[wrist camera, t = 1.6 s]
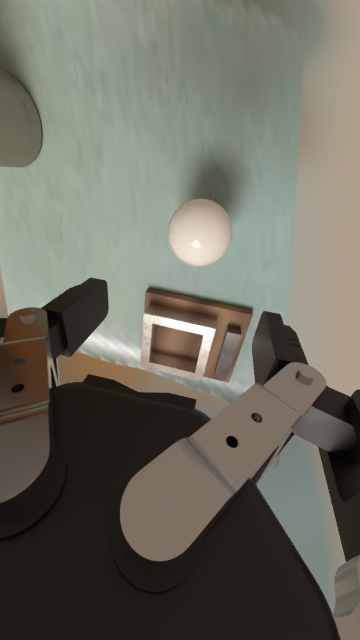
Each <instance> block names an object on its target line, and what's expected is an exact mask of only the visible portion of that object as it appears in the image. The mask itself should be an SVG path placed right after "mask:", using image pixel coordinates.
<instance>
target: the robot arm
mask: <svg viewBox="0 0 360 640" xmlns="http://www.w3.org/2000/svg"><path fill="white" fill-rule="evenodd" d="M41 141H42V130H41V123H40V119H39V115H38V112H37V110H36V107H35V105H34V103H33V101H32V99H31V97H30V95H29V94H28V92H27V91H26V90H25V88H24V87H23V86H22V85H21V84H20V83H19V82H18V81H17V80H16V79H15V78H14V77H13V76H11V75H10V74H8V73H7V72H5V71H3V70H0V166H2V167H24V166H27V165H29V164H31V163H32V162H33V161H34V160H35V159H36V157H37V156H38V154H39V151H40V148H41ZM107 313H108V289H107V282H106V281H105V280H101V279H96V278H89V279H88V280H86V281H85V282H83V283H82V284H81V285H77V286H74V287H72V288H69V289H68V290H66V291H65V292H64V293H63V294H61V295H59V296H58V298H57V297H56V298H55V299H53V300H52V301H51V302H49V303H48V304H46V305H45V306H43V307H42V308H24V309H20V310H17V311H15V312H13V313H11V314H10V315H9V316H8V318H0V640H360V390H356V391H355V392H354V393H353V394H352V396H351V397H350V396H348V395H345V394H343V393H341V392H338V391H335V390H334V389H331V388H329V387H328V386H326V380H325V378H324V377H323V376H322V374H321V373H319V372H318V371H317V370H316V369H314V368H313V367H311V366H309V365H308V362H307V360H306V357H305V355H304V352H303V349H302V348H301V344H300V342H299V339H298V337H297V334H296V332H295V331H294V330H293V329H292V328H291V327H290V326H286V325H284V324H283V321H282V318H281V315H280V314H277V313H272V312H267V311H264V312H263V313H262V315H261V318H260V321H259V324H258V327H257V329H256V332H255V335H254V338H253V343H252V355H253V365H254V375H255V384H254V385H253V386H252V387H251V388H249V389H248V390H247V391H246V392H244V393H243V394H242V395H241V396H240V397H238V398H237V399H236V400H235V401H233V402H232V403H231V404H230V405H228V406H227V407H226V408H225V409H224V410H222V411H221V412H220V413H219V414H217V415H216V416H215V417H214V418H212V419H211V418H209V417H208V416H207V415H206V414H204V413H203V412H201V411H199V410H197V409H195V404H196V399H192V398H188V397H184V396H179V395H175V394H171V393H145V392H137V391H135V390H133V389H131V388H129V387H127V386H125V385H123V384H121V383H119V382H117V381H115V380H111V379H107V378H103V377H99V376H94V375H90V374H88V375H87V377H86V378H85V379H84V381H83V382H73V383H67V384H63V385H60V380H59V370H58V361H57V357H58V356H59V355H64V356H68V357H71V356H72V355H73V354H74V353H75V351H76V350H77V349H78V348H79V347H80V346H81V345H82V344H83V343H84V341H85V340H86V339H87V338H88V337H89V336H90V335H91V334H92V332H93V331H94V330H95V329H96V328H97V327H98V326H99V325H100V324H101V322H102V321H103V320H104V319H105V318H106V316H107ZM295 435H297V436H300V437H301V438H303V439H305V440H307V441H309V442H311V443H313V444H315V445H316V446H318V448H319V452H320V456H321V461H322V465H323V469H324V473H325V477H326V481H327V485H328V489H329V493H330V498H331V502H332V506H333V510H334V514H335V518H336V522H337V526H338V531H339V535H340V539H341V543H342V547H343V551H344V555H345V559H346V563H344V564H343V565H341V566H340V567H339V568H338V569H337V571H336V574H335V579H334V587H335V608H334V612H333V615H332V612H331V610H330V607H329V605H328V603H327V601H326V598H325V596H324V594H323V592H322V591H321V589H320V587H319V585H318V583H317V582H316V580H315V579H314V577H313V575H312V573H311V572H310V570H309V569H308V567H307V565H306V564H305V562H304V561H303V559H302V558H301V556H300V554H299V553H298V551H297V550H296V548H295V546H294V545H293V543H292V542H291V540H290V538H289V537H288V535H287V534H286V532H285V530H284V529H283V527H282V526H281V524H280V522H279V521H278V519H277V518H276V516H275V514H274V513H273V511H272V510H271V508H270V506H269V505H268V503H267V502H266V500H265V499H264V497H263V495H262V494H261V492H260V491H259V489H258V487H257V484H258V483H259V482H260V481H261V479H262V478H263V476H264V475H265V473H266V472H267V471H268V469H269V468H270V466H271V465H272V464H273V462H274V461H275V460H276V459H277V457H278V456H279V455H280V453H281V452H282V451H283V450H284V448H285V447H286V446H287V444H288V443H289V442H290V441H291V439H292V438H293V437H294V436H295Z"/></svg>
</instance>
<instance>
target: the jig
mask: <svg viewBox="0 0 360 640" xmlns="http://www.w3.org/2000/svg"><path fill="white" fill-rule="evenodd" d="M251 318H252V310H250V309H245V308H240V307H235V306H231V305H226V304H221V303H216V302H212V301H207V300H202V299H197V298H193V297H188V296H183V295H178V294H174V293H169V292H164V291H159V290H155V289H150V288H148V290H147V291H146V293H145V308H144V316H143V332H142V348H141V364H140V367H145V368H149V369H153V370H157V371H161V372H165V373H170V374H174V375H178V376H182V377H186V378H190V379H194V380H199V381H202V379H203V376H204V377H208V378H212V379H216V380H220V381H225V382H229V380H230V377H231V375H232V372H233V369H234V366H235V363H236V360H237V358H238V355H239V352H240V349H241V346H242V343H243V341H244V338H245V335H246V332H247V329H248V326H249V324H250V321H251Z"/></svg>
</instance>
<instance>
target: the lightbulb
mask: <svg viewBox="0 0 360 640" xmlns="http://www.w3.org/2000/svg"><path fill="white" fill-rule="evenodd" d="M231 239H232V225H231V221H230V218H229V216H228V214H227V212H226V211H225V210H224V209H223V207H222V206H220V205H219V204H218V203H216V202H214V201H212V200H209V199H203V198H199V199H193V200H190V201H188V202H186V203H184V204H182V205H181V206H180V207H179V208H178V209H177V210H176V211H175V213H174V214H173V216H172V218H171V220H170V223H169V227H168V240H169V244H170V247H171V249H172V251H173V252H174V254H175V255H176V256H177V257H178V258H179V259H180V260H181V261H182V262H184V263H186V264H188V265H191V266H197V267H201V266H207V265H210V264H212V263H214V262H216V261H218V260H219V259H220V258H221V257H222V256H223V255H224V254H225V253H226V251H227V249H228V248H229V245H230V242H231Z"/></svg>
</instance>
